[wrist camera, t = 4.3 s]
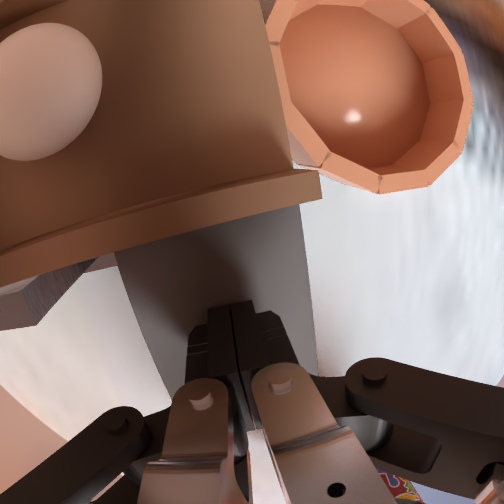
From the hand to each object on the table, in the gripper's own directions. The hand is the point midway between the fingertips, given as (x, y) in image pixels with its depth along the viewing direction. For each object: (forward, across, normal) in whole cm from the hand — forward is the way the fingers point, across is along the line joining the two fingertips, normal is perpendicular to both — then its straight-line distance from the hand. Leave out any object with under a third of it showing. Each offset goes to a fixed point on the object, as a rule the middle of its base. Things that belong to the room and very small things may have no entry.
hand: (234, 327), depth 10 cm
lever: (+2, +7, -4) cm, 9 cm away
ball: (-2, +4, -8) cm, 9 cm away
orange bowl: (+6, -8, -8) cm, 14 cm away
